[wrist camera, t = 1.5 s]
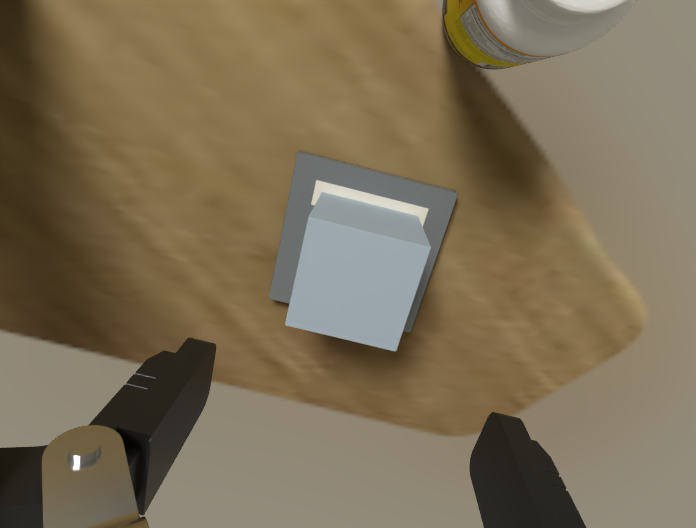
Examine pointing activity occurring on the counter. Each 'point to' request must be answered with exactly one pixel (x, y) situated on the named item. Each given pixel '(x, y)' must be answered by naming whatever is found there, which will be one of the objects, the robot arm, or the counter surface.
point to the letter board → (366, 187)
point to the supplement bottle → (526, 28)
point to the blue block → (358, 271)
